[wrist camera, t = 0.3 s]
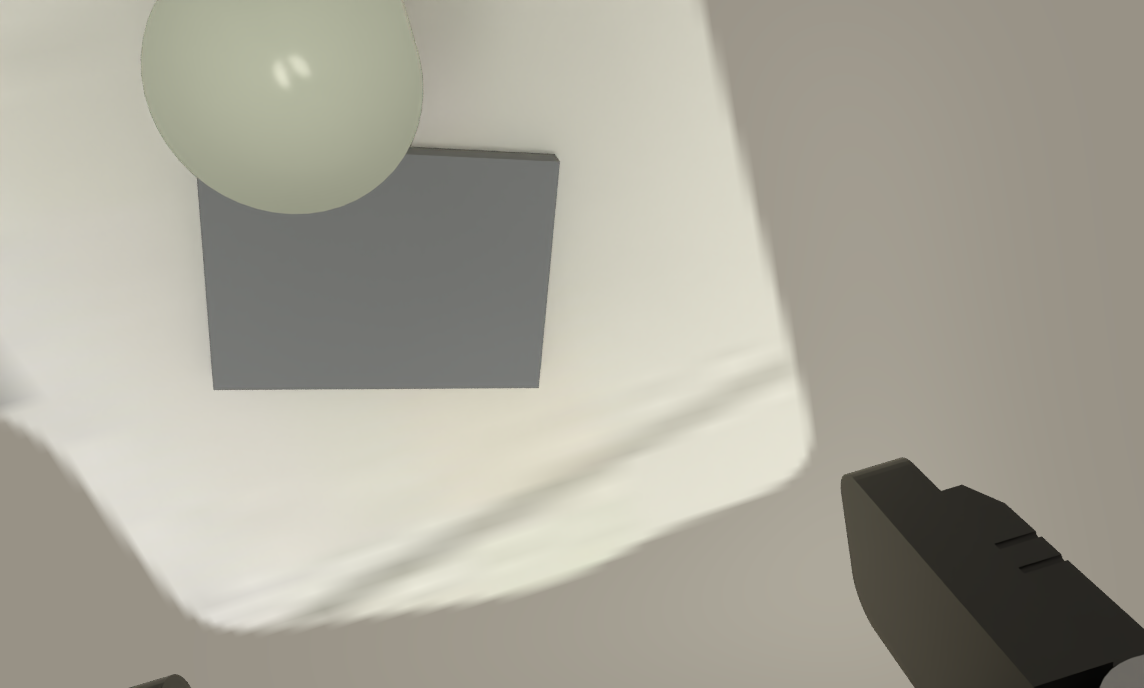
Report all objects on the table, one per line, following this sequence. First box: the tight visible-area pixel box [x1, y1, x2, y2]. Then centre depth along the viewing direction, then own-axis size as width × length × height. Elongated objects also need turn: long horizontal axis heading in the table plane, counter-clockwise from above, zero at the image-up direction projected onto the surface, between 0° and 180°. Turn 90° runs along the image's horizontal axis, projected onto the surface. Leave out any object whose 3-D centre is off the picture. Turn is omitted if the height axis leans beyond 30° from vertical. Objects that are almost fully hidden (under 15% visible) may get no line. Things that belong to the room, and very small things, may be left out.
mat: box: [197, 147, 560, 390], centre depth 33 cm, size 9×12×1 cm
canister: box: [141, 0, 423, 214], centre depth 23 cm, size 5×5×14 cm
